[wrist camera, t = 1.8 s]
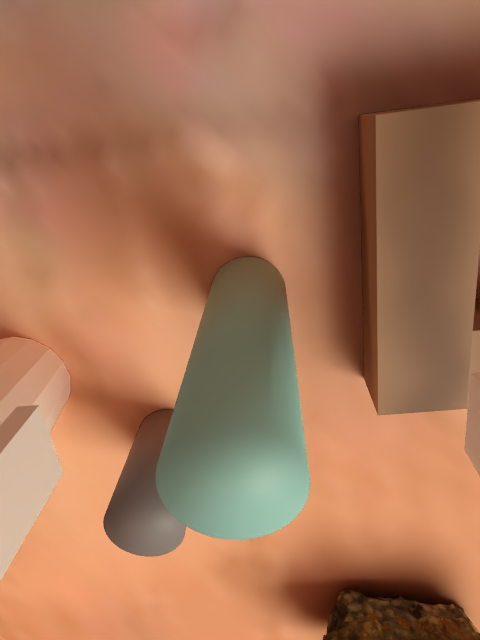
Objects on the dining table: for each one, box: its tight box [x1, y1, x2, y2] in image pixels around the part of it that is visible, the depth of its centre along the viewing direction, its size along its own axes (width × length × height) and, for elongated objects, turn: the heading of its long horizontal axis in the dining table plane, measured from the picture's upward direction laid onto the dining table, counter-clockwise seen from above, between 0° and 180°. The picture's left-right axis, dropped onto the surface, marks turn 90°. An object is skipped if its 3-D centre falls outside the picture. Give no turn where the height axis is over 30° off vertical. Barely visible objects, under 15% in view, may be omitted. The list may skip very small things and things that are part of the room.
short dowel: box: [103, 409, 186, 556], centre depth 26 cm, size 4×4×7 cm
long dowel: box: [156, 256, 310, 540], centre depth 18 cm, size 4×4×14 cm
